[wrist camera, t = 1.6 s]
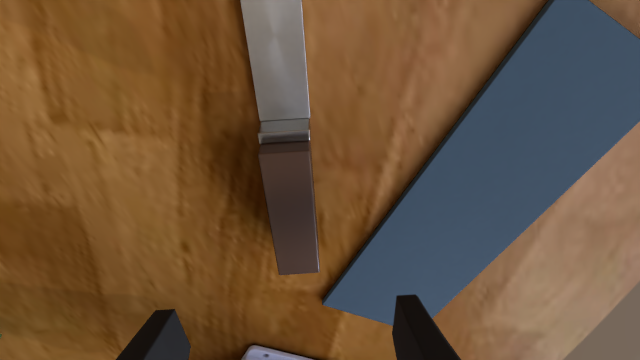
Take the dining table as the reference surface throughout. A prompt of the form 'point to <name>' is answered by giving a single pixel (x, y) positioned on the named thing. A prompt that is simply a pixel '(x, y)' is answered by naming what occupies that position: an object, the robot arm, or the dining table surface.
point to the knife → (284, 129)
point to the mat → (502, 161)
